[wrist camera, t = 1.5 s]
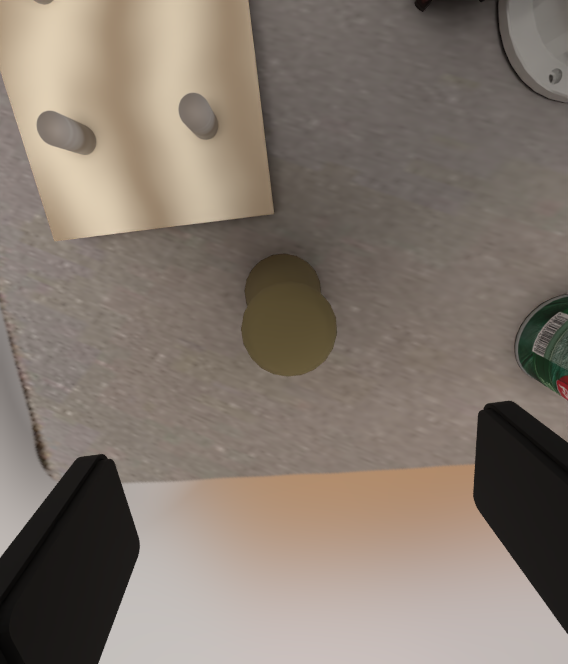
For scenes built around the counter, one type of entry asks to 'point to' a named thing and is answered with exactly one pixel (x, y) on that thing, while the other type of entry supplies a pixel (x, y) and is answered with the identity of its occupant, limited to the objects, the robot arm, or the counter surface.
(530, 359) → the canned tomato
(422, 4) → the mate gourd
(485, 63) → the counter surface
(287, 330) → the olive chess pawn
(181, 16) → the wooden board with pegs
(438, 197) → the counter surface
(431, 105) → the counter surface
